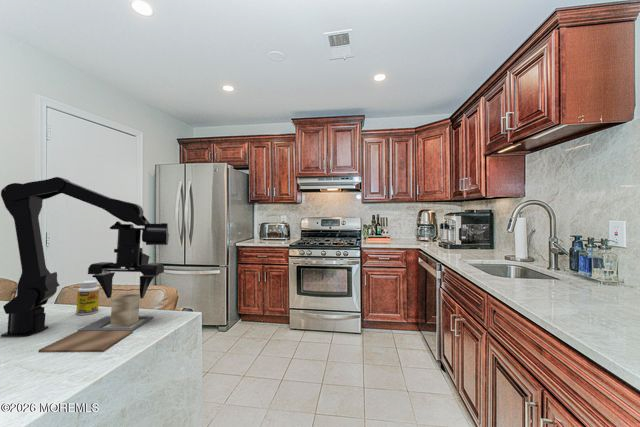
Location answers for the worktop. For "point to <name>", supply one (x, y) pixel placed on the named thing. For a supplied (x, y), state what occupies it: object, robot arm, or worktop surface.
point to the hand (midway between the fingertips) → (125, 298)
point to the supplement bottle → (87, 298)
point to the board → (87, 341)
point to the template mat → (107, 320)
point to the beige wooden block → (125, 310)
